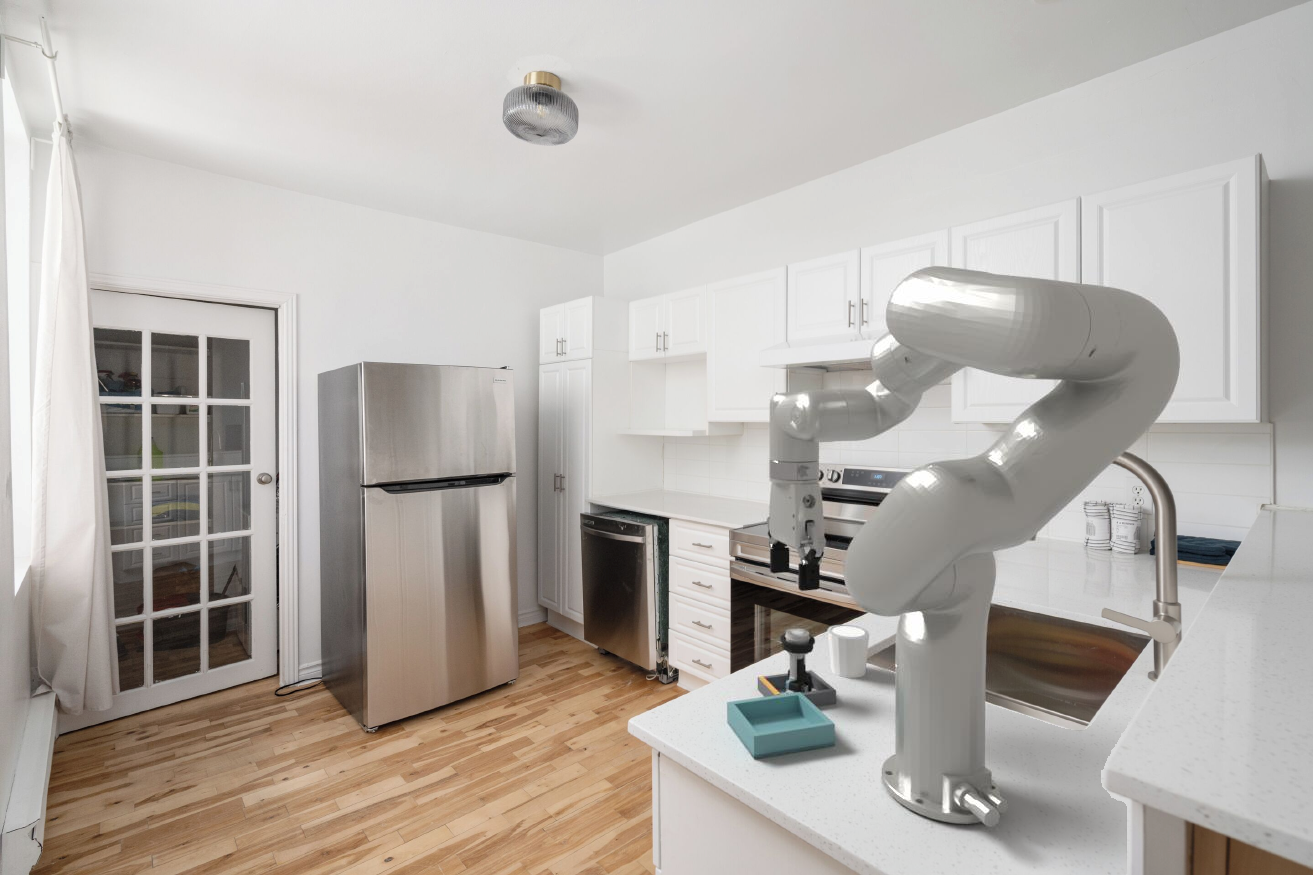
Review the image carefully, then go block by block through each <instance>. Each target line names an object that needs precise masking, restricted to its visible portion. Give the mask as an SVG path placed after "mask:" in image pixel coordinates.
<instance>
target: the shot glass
mask: <svg viewBox="0 0 1313 875" xmlns="http://www.w3.org/2000/svg"><path fill="white" fill-rule="evenodd" d="M827 636H828V637H827V638H828V650H829V657H830V658H829V660H830V668H831V672H832V673H833V674H835V676H839V677H842V678H845V679H847V678H848V679H858V678H862V677H864V676H865V675H866V671H867V670H866V669H867V660H868V651H869V648H868V647H869V640H870V633H869V631H868V630H867V629H865V628H862V627H859V626H857V625H851V624H835V625H831V626H829V627H828V628H827Z"/></svg>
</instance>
